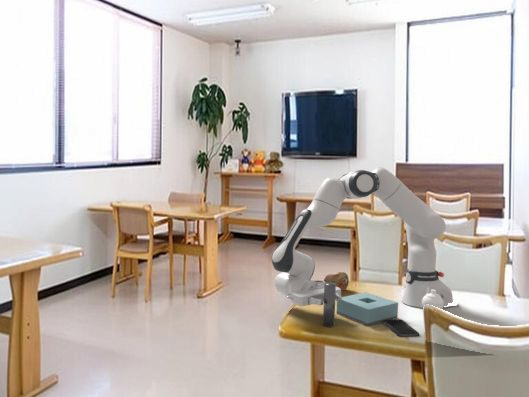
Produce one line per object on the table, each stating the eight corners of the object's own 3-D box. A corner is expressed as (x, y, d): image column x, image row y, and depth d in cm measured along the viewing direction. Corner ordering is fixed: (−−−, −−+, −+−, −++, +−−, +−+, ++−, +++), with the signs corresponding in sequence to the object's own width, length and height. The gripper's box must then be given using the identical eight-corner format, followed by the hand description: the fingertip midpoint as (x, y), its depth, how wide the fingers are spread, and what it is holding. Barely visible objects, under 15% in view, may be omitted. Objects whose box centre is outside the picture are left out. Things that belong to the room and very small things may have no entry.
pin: (331, 322, 180) (333, 282, 179) (335, 326, 177) (337, 285, 175) (321, 323, 180) (322, 282, 178) (325, 327, 176) (326, 285, 174)
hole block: (365, 306, 200) (366, 292, 200) (397, 318, 188) (398, 302, 187) (336, 313, 191) (337, 298, 191) (367, 325, 178) (368, 309, 178)
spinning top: (417, 321, 184) (419, 289, 183) (426, 317, 190) (428, 286, 189) (437, 326, 179) (439, 294, 178) (446, 321, 185) (448, 290, 184)
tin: (327, 295, 216) (327, 276, 215) (321, 293, 218) (322, 274, 217) (348, 289, 226) (349, 271, 225) (343, 288, 228) (344, 270, 227)
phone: (398, 334, 168) (381, 319, 183) (398, 338, 168) (381, 322, 183) (420, 334, 169) (402, 319, 184) (420, 337, 169) (402, 322, 184)
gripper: (284, 287, 181) (309, 296, 170) (326, 279, 193) (351, 288, 182) (283, 304, 182) (308, 314, 171) (325, 295, 194) (351, 305, 183)
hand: (331, 301), depth 177 cm, fingers open, 8 cm apart
